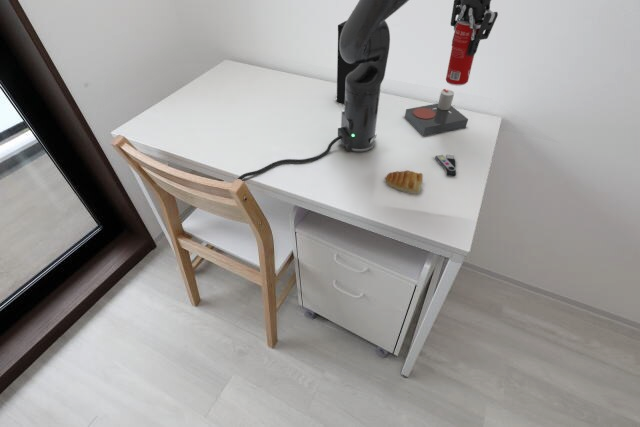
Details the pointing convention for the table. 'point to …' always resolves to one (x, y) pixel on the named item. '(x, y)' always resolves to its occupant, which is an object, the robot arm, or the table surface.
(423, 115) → the burner
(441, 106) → the hob knob
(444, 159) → the usb flash drive
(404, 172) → the pastry
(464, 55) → the beverage can
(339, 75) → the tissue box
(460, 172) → the table surface
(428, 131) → the hob
